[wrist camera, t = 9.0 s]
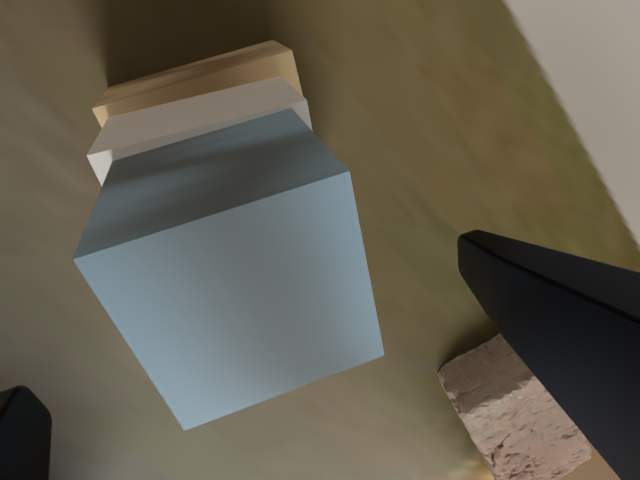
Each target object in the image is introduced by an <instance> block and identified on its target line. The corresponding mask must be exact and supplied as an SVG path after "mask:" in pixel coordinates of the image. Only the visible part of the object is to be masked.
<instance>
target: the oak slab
mask: <svg viewBox="0 0 640 480" xmlns="http://www.w3.org/2000/svg"><path fill="white" fill-rule="evenodd" d="M277 76H280V77H282V78H283V79H284V80H285V81H286V82H287V83H288V84H289V85H291V86H292V87H293V88H294V89H295V90H296V91H297V92H298V93H300V94H301V95H302V96H303V94H302V89H301V85H300V81H299V77H298V73H297V69H296V64H295V60H294V56H293V52H292V50H291V49H289V48H287V47H285V46H284V45H282V44H280V43H278V42H276V41H274V40H270V41H266V42H263V43H259V44H256V45H252V46H249V47H245V48H242V49H238V50H235V51H231V52H228V53H224V54H221V55H218V56H214V57H211V58H207V59H204V60H200V61H197V62H193V63H190V64H186V65H183V66H179V67H176V68H172V69H169V70H165V71H162V72H158V73H155V74H151V75H148V76H144V77H141V78H137V79H134V80H130V81H127V82H123V83H120V84H116V85H113V86H109V87H108V88H107V89H106V90H105V92H104V93H103V94H102V96H101V97H100V98H99V100H98V101H97V102H96V104H95V105H94V106H93V108H92V110H93V112H94V114H95V116H96V118H97V120H98V122H99V124H100V125H101V127H103V126H104V124H105V122H106V120H107V119H108V117H112V116H116V115H120V114H124V113H128V112H132V111H136V110H141V109H145V108H149V107H153V106H157V105H161V104H165V103H169V102H174V101H178V100H182V99H186V98H190V97H194V96H198V95H202V94H207V93H211V92H215V91H219V90H223V89H227V88H231V87H235V86H239V85H244V84H248V83H252V82H256V81H260V80H264V79H268V78H272V77H277Z"/></svg>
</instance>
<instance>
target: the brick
mask: <svg viewBox="0 0 640 480" xmlns="http://www.w3.org/2000/svg"><path fill="white" fill-rule="evenodd" d="M438 379H439V381H440V383H441V385H442V388H443V389H444V391H445V392H446V394H447V396H448V397H449V399H450V400H451V401H452V405H453V406H454V408H455V410H456V412H457V414H458V415H459V417H460V418H461V420H462V422H463V424H464V425H465V427H466V429H467V430H468V432H469V435H470V437H471V438H472V440H473V442H474V443H475V444H476V446H477V448H478V450H479V451H480V453H481V455H482V457H483V459H484V461H485V463H486V465H487V466H488V468H489V470H490V472H491V473H492V475H493V477H494V479H495V480H560V479H561V478H562V477H563V476H564V475H565V474H567V473H568V472H572V471H573V470H574V468H575V467H576V466H578V465H579V464H581V463H583V462H585V461H586V460H589V459H591V452H592V450H591V447H590V445H589V442H588V441H587V438H586V437H585V436H584V434H583V433H582V432H581V431H580V430H579V428H578V427H577V426H576V425H575V424H574V422H573V421H572V420H571V419H570V418H569V416H568V415H567V414H566V413H565V412H564V410H563V409H562V408H561V407H560V406H559V404H558V403H557V402H556V401H555V399H554V398H553V397H552V396H551V395H550V393H549V392H548V391H547V390H546V389H545V387H544V386H543V385H542V384H541V383H540V381H539V380H538V379H537V378H536V377H535V375H534V374H533V373H532V372H531V371H530V369H529V368H528V367H527V366H526V365H525V363H524V362H523V361H522V360H521V359H520V357H519V356H518V355H517V354H516V352H515V351H514V350H513V349H512V348H511V346H510V345H509V344H508V343H507V342H506V340H505V339H504V338H503V337H502V335H501V334H498V335H497V336H495V337H493V338H492V339H491V340H489V341H487V342H485V343H483V344H481V345H480V346H478V347H476V348H475V349H472V350H470V351H468V352H467V353H464V354H462V355H459V356H457V357H456V358H454V359H453V360H451V361H450V362H448V363H447V364H445V365H444V366H443V367H442V368H441V369H440V370H439V371H438Z"/></svg>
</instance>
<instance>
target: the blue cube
mask: <svg viewBox="0 0 640 480" xmlns="http://www.w3.org/2000/svg"><path fill="white" fill-rule="evenodd" d="M73 261H74V262H75V264H76V266H77V267H78V269H79V270H80V272H81V273H82V275H83V276H84V278H85V279H86V281H87V282H88V284H89V285H90V287H91V288H92V290H93V292H94V293H95V295H96V296H97V298H98V299H99V301H100V302H101V304H102V305H103V307H104V308H105V310H106V311H107V313H108V314H109V316H110V317H111V319H112V321H113V322H114V324H115V325H116V327H117V328H118V330H119V331H120V333H121V334H122V336H123V337H124V339H125V340H126V342H127V343H128V345H129V347H130V348H131V350H132V351H133V353H134V354H135V356H136V357H137V359H138V360H139V362H140V363H141V365H142V366H143V368H144V369H145V371H146V373H147V374H148V376H149V377H150V379H151V380H152V382H153V383H154V385H155V386H156V388H157V389H158V391H159V392H160V394H161V395H162V397H163V399H164V400H165V402H166V403H167V405H168V406H169V408H170V409H171V411H172V412H173V414H174V415H175V417H176V418H177V420H178V421H179V423H180V425H181V426H182V428H183V429H184V431H185V430H188V429H191V428H193V427H196V426H199V425H201V424H204V423H206V422H209V421H212V420H214V419H217V418H220V417H222V416H225V415H228V414H230V413H233V412H236V411H238V410H241V409H244V408H246V407H249V406H251V405H254V404H257V403H259V402H262V401H265V400H267V399H270V398H273V397H275V396H278V395H281V394H283V393H286V392H289V391H291V390H294V389H297V388H299V387H302V386H304V385H307V384H310V383H312V382H315V381H318V380H320V379H323V378H326V377H328V376H331V375H334V374H336V373H339V372H342V371H344V370H347V369H350V368H352V367H355V366H357V365H360V364H363V363H365V362H368V361H371V360H373V359H376V358H379V357H381V356H384V350H383V345H382V340H381V335H380V329H379V324H378V319H377V313H376V308H375V303H374V298H373V292H372V287H371V282H370V277H369V271H368V266H367V261H366V256H365V250H364V245H363V240H362V235H361V229H360V224H359V219H358V214H357V208H356V203H355V198H354V192H353V187H352V182H351V177H350V171H349V170H348V169H347V168H346V167H345V166H344V165H343V163H342V162H341V161H340V160H339V159H338V158H337V157H336V156H335V155H334V154H333V153H332V152H331V150H330V149H329V148H328V147H327V146H326V145H325V144H324V143H323V142H322V141H321V140H320V138H319V137H318V136H317V135H316V134H315V133H314V132H313V131H312V130H311V129H310V128H309V127H308V125H307V124H306V123H305V122H304V121H303V120H302V119H301V118H300V117H299V116H298V115H297V114H296V112H295V111H294V110H293V109H292V108H289V109H286V110H283V111H279V112H276V113H273V114H269V115H266V116H262V117H259V118H256V119H252V120H249V121H246V122H242V123H239V124H236V125H232V126H229V127H225V128H222V129H219V130H215V131H212V132H209V133H205V134H202V135H199V136H195V137H192V138H188V139H185V140H182V141H178V142H175V143H172V144H168V145H165V146H161V147H158V148H155V149H151V150H148V151H145V152H141V153H138V154H135V155H131V156H128V157H124V158H121V159H118V160H114V161H112V163H111V166H110V168H109V171H108V173H107V176H106V178H105V180H104V183H103V185H102V188H101V190H100V193H99V195H98V198H97V200H96V203H95V205H94V208H93V210H92V213H91V215H90V218H89V220H88V223H87V225H86V228H85V230H84V233H83V235H82V238H81V240H80V243H79V245H78V248H77V250H76V253H75V255H74V258H73Z"/></svg>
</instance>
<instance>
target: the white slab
mask: <svg viewBox="0 0 640 480" xmlns="http://www.w3.org/2000/svg"><path fill="white" fill-rule="evenodd" d="M289 108H292V109H293V110H294V111H295V112H296V114H297V115H298V116H299V117H300V118H301V119H302V120H303V121H304V122H305V123H306V124H307V125H308V127H309V128H310V129H311V130H312V125H311V120H310V114H309V109H308V104H307V100H306V99H305V98H304V97H303V96H302V95H301V94H300V93H298V92H297V91H296V90H295V89H294V88H293V87H292V86H291V85H289V84H288V83H287V82H286V81H285V80H284V79H283V78H282V77H280V76H277V77H272V78H268V79H264V80H260V81H256V82H252V83H248V84H244V85H239V86H235V87H231V88H227V89H223V90H219V91H215V92H211V93H207V94H202V95H198V96H194V97H190V98H186V99H182V100H178V101H174V102H169V103H165V104H161V105H157V106H153V107H149V108H145V109H141V110H136V111H132V112H128V113H124V114H120V115H116V116H112V117H108V119H107V120H106V122H105V124H104V126H103V127H102V129H101V131H100V133H99V135H98V136H97V138H96V140H95V142H94V143H93V145H92V147H91V149H90V150H89V152H88V154H87V157H88V159H89V161H90V164H91V166H92V168H93V170H94V172H95V174H96V176H97V178H98V180H99V182H100V184H101V186H102V185H103V183H104V180H105V178H106V176H107V173H108V171H109V168H110V166H111V163H112V161H114V160H118V159H121V158H124V157H128V156H131V155H135V154H138V153H141V152H145V151H148V150H151V149H155V148H158V147H161V146H165V145H168V144H172V143H175V142H178V141H182V140H185V139H188V138H192V137H195V136H199V135H202V134H205V133H209V132H212V131H215V130H219V129H222V128H225V127H229V126H232V125H236V124H239V123H242V122H246V121H249V120H252V119H256V118H259V117H262V116H266V115H269V114H273V113H276V112H279V111H283V110H286V109H289ZM312 131H313V130H312Z"/></svg>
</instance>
